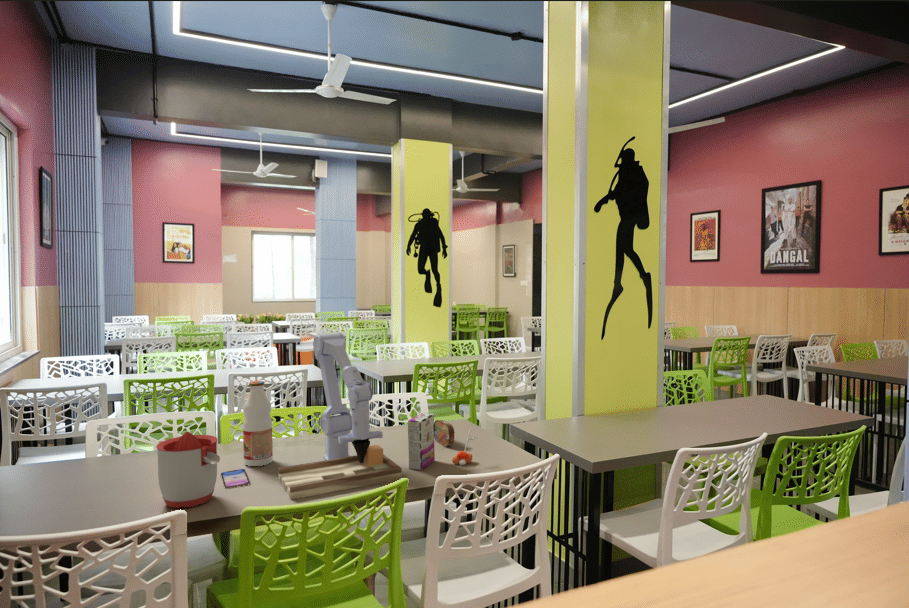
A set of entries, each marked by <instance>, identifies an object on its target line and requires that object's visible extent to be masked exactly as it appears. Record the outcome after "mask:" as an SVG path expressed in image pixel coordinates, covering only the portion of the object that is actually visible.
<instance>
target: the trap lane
mask: <svg viewBox="0 0 909 608" xmlns="http://www.w3.org/2000/svg"><path fill="white" fill-rule="evenodd" d="M349 456H350V455H349ZM277 473H278V476H277V477H278V481H279V482H280V484H281V486H282V487H283V489H284V491H285V492H286V494H287V495H288V497H289V500H291V499H292V500H296V499H295V498H297V499H301V498H300V497H302V498H307V497H306V496H308V497H312V496H318V495H322V494H329V493H333V492H339V491H343V490H349V489H354V488H360V487H361V488H362V487H365V486H371V485H376V484H380V483H388V482H391V481H397V480H401V479H400V478H403V477H402V476H403V475H402V467H401V466H400V465H399V464H397V463H396V462H394V461H393V460H392V459H391V458H389V457H388V456H386V455H385V454H384V453H383V464H378V465H372V466H368V465H367V464H366V463H365V462H364V463H359V462H358V456H357V454H356V455H351V456H350V457H343V458H337V459H331V460H326V459H324V460H320V461H313V462H307V463H301V464H294V465H289V466H288V465H287V466H281V467H278V468H277Z"/></svg>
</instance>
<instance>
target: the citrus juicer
mask: <svg viewBox="0 0 909 608" xmlns="http://www.w3.org/2000/svg"><path fill="white" fill-rule="evenodd" d="M217 442H218V437H216V436H214V435H210V434H193V433H192V432H190V431H185V432H184V433H183V434H182V435H181V436H177V437H171V438H169V439H165V440H163V441H161V442H159V443H158V444H156V447H155V448H156V450H157V451H156V452H157V475H158V476H157V477H158V485H159V490H160V493H161V495H162V499H163V501H164V503H165V504H166V506H167V507H169V508H172V507H173V509H180V508H179V507H192V506H194V507H197V506H199V504H200V505H202V504H205V503H207V502H208V501H210V500H211V499H212V496H213V494H214V491H215V487H216V483H217V477H218V463H219V462H220V461H221V458H220V455H218V450H217V449H218V448H217V446H218V444H217ZM192 508H193V507H192Z"/></svg>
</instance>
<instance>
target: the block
mask: <svg viewBox="0 0 909 608" xmlns="http://www.w3.org/2000/svg"><path fill="white" fill-rule="evenodd" d="M383 454H384V448H383V447H381V445H379V444H374V445H369V447H368V449H367V451H366V454H365V458H364V462H365V463H366V464H367V465H368V466H372V465H378V464H383Z"/></svg>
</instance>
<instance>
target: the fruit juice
mask: <svg viewBox="0 0 909 608" xmlns="http://www.w3.org/2000/svg"><path fill="white" fill-rule="evenodd" d="M248 386H249V394H248V396H247V400H246V401H245V402H244V404H243V405H242V406H243V408H242V412H243V415H244V418H243V419H244V420H243V422H242V437H243V441H242V442H243V445H242V446H243V464H244V465H245V466H246V465H248V466H247V467H250V466H258V467H263V465H264V466H267V465H269V463H270V464H271V463H273V460H274V459H273V458H274V457H273V455H274V454H273V453H274V452H273V449H274V448H273V447H274V446H273V421H272V417H271V411H272V403H271V401H270V400H269V398H267V395H266V393H265V390H264V387H265V381H264V380H254V381H250V382H249V383H248Z"/></svg>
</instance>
